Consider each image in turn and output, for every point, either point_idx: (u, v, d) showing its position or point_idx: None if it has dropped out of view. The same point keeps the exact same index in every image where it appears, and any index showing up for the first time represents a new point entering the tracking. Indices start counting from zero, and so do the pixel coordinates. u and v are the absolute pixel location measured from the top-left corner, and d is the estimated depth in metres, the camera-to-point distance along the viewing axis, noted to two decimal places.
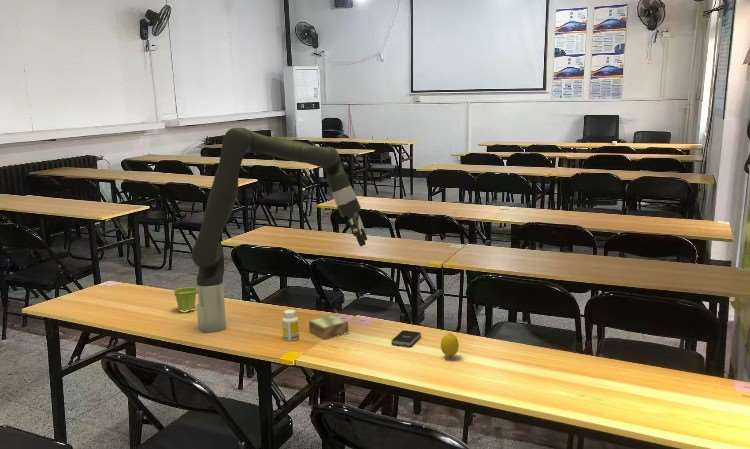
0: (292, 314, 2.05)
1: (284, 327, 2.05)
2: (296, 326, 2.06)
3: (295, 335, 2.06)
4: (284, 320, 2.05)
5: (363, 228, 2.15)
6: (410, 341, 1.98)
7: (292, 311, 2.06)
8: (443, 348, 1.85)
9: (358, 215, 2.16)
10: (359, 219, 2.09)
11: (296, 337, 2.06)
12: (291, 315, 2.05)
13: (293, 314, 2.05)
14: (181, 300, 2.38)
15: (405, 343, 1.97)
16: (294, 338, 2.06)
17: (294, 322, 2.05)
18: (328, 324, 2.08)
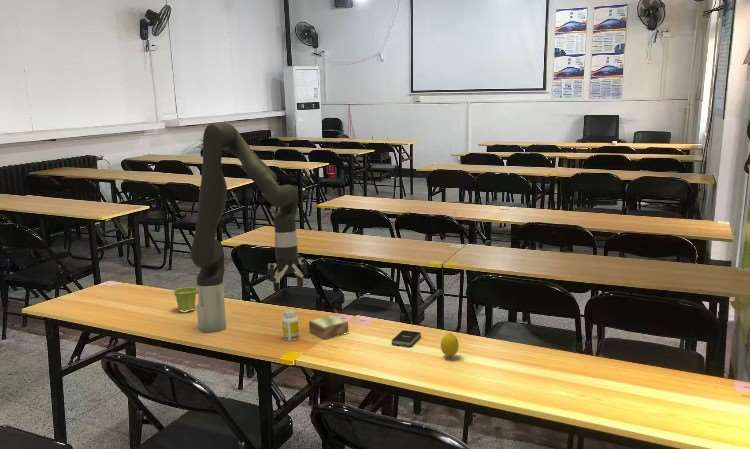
0: (292, 314, 2.05)
1: (284, 327, 2.05)
2: (296, 326, 2.06)
3: (295, 335, 2.06)
4: (284, 320, 2.05)
5: (300, 276, 2.06)
6: (410, 341, 1.98)
7: (292, 311, 2.06)
8: (443, 348, 1.85)
9: (303, 262, 2.06)
10: (286, 267, 2.02)
11: (296, 337, 2.06)
12: (291, 315, 2.05)
13: (293, 314, 2.05)
14: (181, 300, 2.38)
15: (405, 343, 1.97)
16: (294, 338, 2.06)
17: (294, 322, 2.05)
18: (328, 324, 2.08)
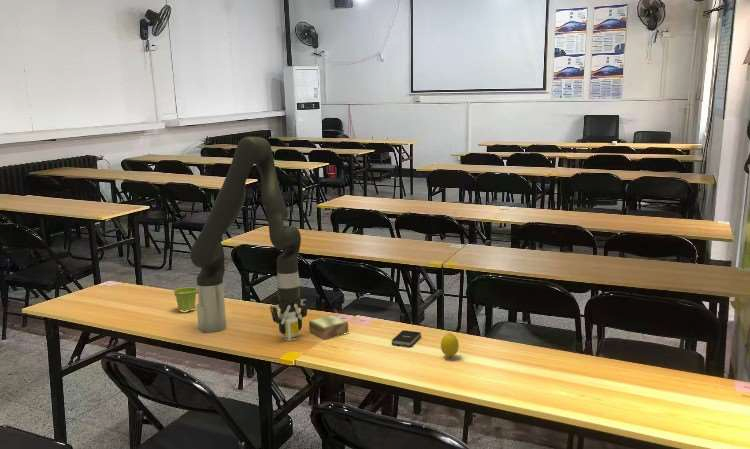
0: (292, 314, 2.05)
1: None
2: (296, 326, 2.06)
3: (295, 335, 2.06)
4: None
5: (299, 318, 2.08)
6: (410, 341, 1.98)
7: None
8: (443, 348, 1.85)
9: (304, 303, 2.08)
10: (289, 308, 2.04)
11: (296, 337, 2.06)
12: (291, 315, 2.05)
13: (293, 314, 2.05)
14: (181, 300, 2.38)
15: (405, 343, 1.97)
16: (294, 338, 2.06)
17: (294, 322, 2.05)
18: (328, 324, 2.08)
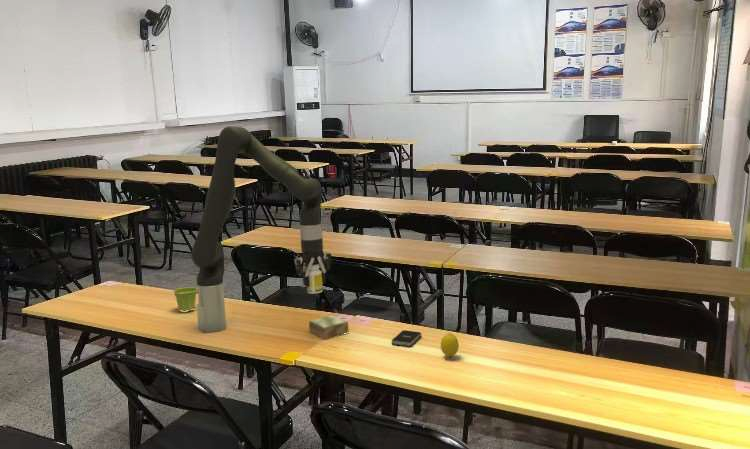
0: (316, 267, 2.05)
1: None
2: (320, 279, 2.06)
3: (319, 288, 2.06)
4: None
5: (323, 271, 2.07)
6: (410, 341, 1.98)
7: None
8: (443, 348, 1.85)
9: (328, 256, 2.08)
10: (312, 260, 2.04)
11: (320, 290, 2.06)
12: (315, 268, 2.05)
13: (317, 267, 2.05)
14: (181, 300, 2.38)
15: (405, 343, 1.97)
16: (318, 291, 2.05)
17: (318, 274, 2.05)
18: (328, 324, 2.08)
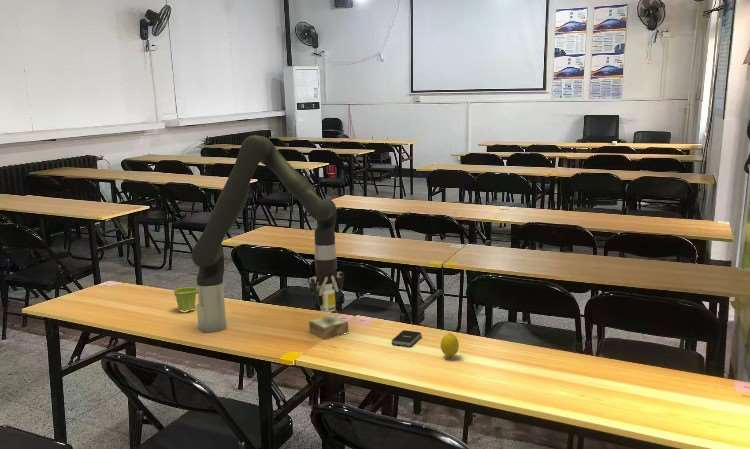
0: (329, 286, 2.08)
1: None
2: (333, 298, 2.09)
3: (332, 306, 2.09)
4: None
5: (336, 290, 2.11)
6: (410, 341, 1.98)
7: None
8: (443, 348, 1.85)
9: (341, 275, 2.12)
10: (326, 279, 2.07)
11: (333, 309, 2.09)
12: (328, 287, 2.08)
13: (330, 286, 2.08)
14: (181, 300, 2.38)
15: (405, 343, 1.97)
16: (331, 309, 2.09)
17: (332, 293, 2.08)
18: (328, 324, 2.08)
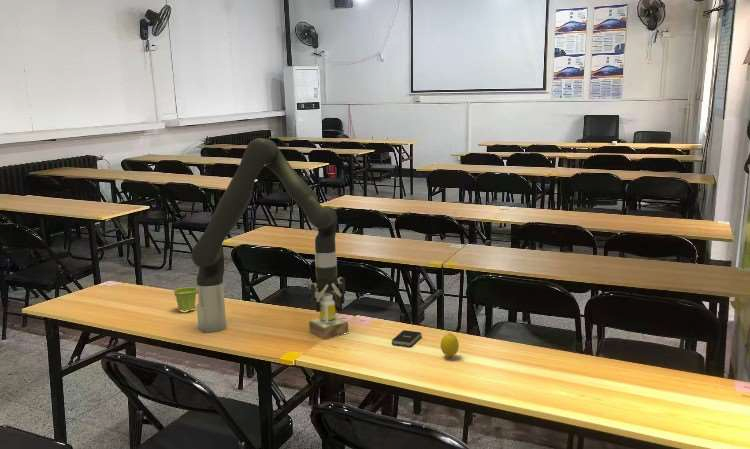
0: (329, 297, 2.09)
1: (321, 310, 2.09)
2: (333, 309, 2.10)
3: (332, 318, 2.10)
4: (322, 303, 2.09)
5: (339, 295, 2.12)
6: (410, 341, 1.98)
7: (329, 294, 2.10)
8: (443, 348, 1.85)
9: (342, 281, 2.12)
10: (326, 287, 2.07)
11: (333, 320, 2.10)
12: (328, 298, 2.09)
13: (330, 297, 2.09)
14: (181, 300, 2.38)
15: (405, 343, 1.97)
16: (331, 321, 2.10)
17: (332, 305, 2.09)
18: (328, 324, 2.08)
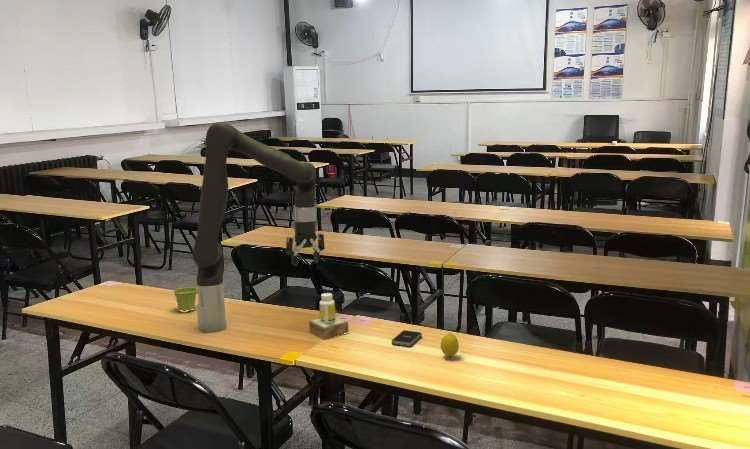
0: (329, 297, 2.09)
1: (321, 310, 2.09)
2: (333, 309, 2.10)
3: (332, 318, 2.10)
4: (321, 303, 2.09)
5: (317, 251, 2.14)
6: (410, 341, 1.98)
7: (329, 294, 2.10)
8: (443, 348, 1.85)
9: (320, 237, 2.14)
10: (304, 241, 2.10)
11: (333, 320, 2.10)
12: (328, 298, 2.09)
13: (330, 297, 2.09)
14: (181, 300, 2.38)
15: (405, 343, 1.97)
16: (331, 321, 2.10)
17: (332, 305, 2.09)
18: (328, 324, 2.08)
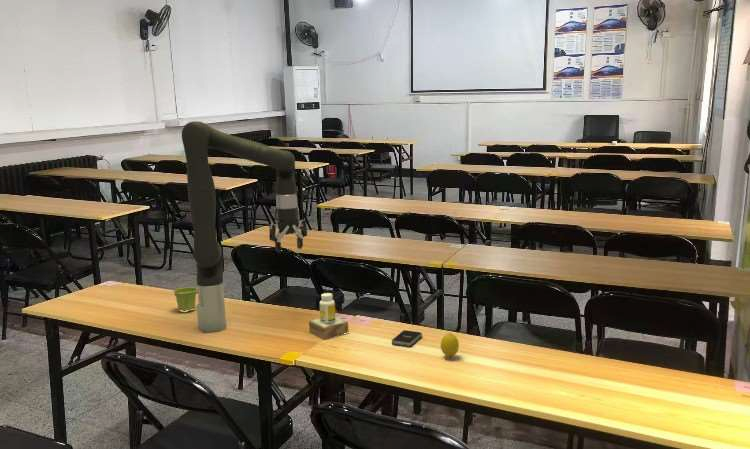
0: (329, 297, 2.09)
1: (321, 310, 2.09)
2: (333, 309, 2.10)
3: (332, 318, 2.10)
4: (321, 303, 2.09)
5: (300, 237, 2.19)
6: (410, 341, 1.98)
7: (329, 294, 2.10)
8: (443, 348, 1.85)
9: (303, 224, 2.19)
10: (287, 228, 2.15)
11: (333, 320, 2.10)
12: (328, 298, 2.09)
13: (330, 297, 2.09)
14: (181, 300, 2.38)
15: (405, 343, 1.97)
16: (331, 321, 2.10)
17: (332, 305, 2.09)
18: (328, 324, 2.08)
